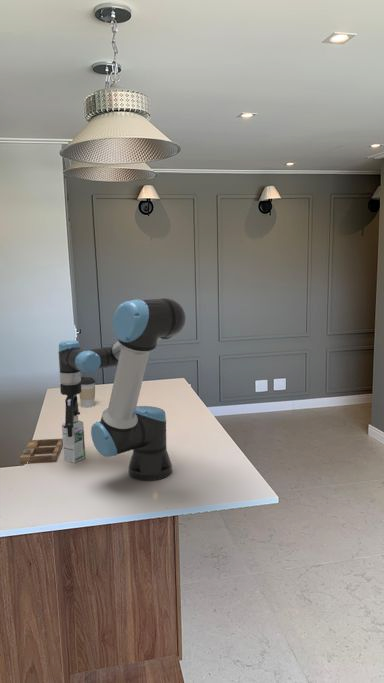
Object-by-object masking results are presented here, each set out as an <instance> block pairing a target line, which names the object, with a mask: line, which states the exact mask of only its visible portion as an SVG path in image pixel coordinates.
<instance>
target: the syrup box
mask: <svg viewBox="0 0 384 683" xmlns="http://www.w3.org/2000/svg"><path fill="white" fill-rule="evenodd" d="M73 425H74V439H75V445H67V438H66V428H64V426H65V422H64V423H61V431H62V434H61V435H62V439H63V447H62V449H63V460H64V461H66V462H69V463H73V464H76V463H77V462H79V461H82V460H85V459H86V447H85V430H84V421H81V420H79V419H78V420H74V422H73Z"/></svg>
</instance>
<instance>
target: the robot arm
mask: <svg viewBox="0 0 384 683" xmlns="http://www.w3.org/2000/svg"><path fill="white" fill-rule="evenodd" d="M186 320H187V318H186V313H185V311H184V308H183V307H182V305H181V304H180V303H179V302H178V301H177V300H174V299H171V298H151V299H140V298H139V299H133V300H127V301H124V302H122V303H121V304H119V305H118V307H117V308H116V310H115V312H114V315H113V319H112V326H113V333H114V335H115V337H116V338H117V341H116V342H115V343H114V344H112V345H109V346H104V347H97V348H87V349H82V348H81V345H80V342H79V341H78V340H62V341H60V342H59V343H58V352H57V354H58V362H59V365H58V366H59V382H60V385H59V386H60V387H59V388H60V394H61V395H62V396H63V395H64V396H66V398H65V415H64V416H65V417H64V418H65V422H64V423H65V426H64V428H66V438H67V445H75V439H74V425H73V422H74V420H78V421H79V416H80V415H81V412H80V410H79V403H78V395H79V393H81V383H80V381H81V378H82V377H83V373H84V374H85V373H88V374H92V373H93V374H94V373H95V372H97V371H98V370H102V369H106V368H112V367H116V370H115V375H114V380H113V385H112V389H111V394H110V399H109V403H108V407H107V408H105V409H104V410H103V411H102V414H101V418H100V421H96V422H94V423H93V424H92V425H91V427H90V428H91V429H90V434H91V439H92V443H93V445H94V448H95V450H96V451H97V452H98V454H100V455H101V456H102V457H105V458H110V457H114V456H117V455H120V454H124V453H127V452H131V451H132V453H131V454H132V455H131V458H130V462H129V465H128V475H129V476H130V477H131V478H133V479H135V480H139V481H140V480H141V481H157V480H161V479H164V478H167V477H168V476H170V475H171V474H172V472H173V465H172V464H173V463H172V462H171V458H170V455H169V453H168V450H167V416H166V412H165V410H164V409H162V408H160V407H156V406H150V405H138V401H139V397H140V393H141V390H142V389H141V388H142V385H143V381H144V376H145V373H146V368H147V364H148V360H149V356H150V352H154V350H155V349H157V345H158V342H160V341H161V340H164V341H165V340H169V339H170V338H173V337H174V336H176V335H178V334H179V333H181V331H182V330H183V328H184V327H185V325H186ZM81 372H82V373H81ZM137 405H138V406H137Z"/></svg>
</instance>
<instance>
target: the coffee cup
mask: <svg viewBox="0 0 384 683" xmlns="http://www.w3.org/2000/svg"><path fill="white" fill-rule="evenodd" d="M80 383H81V393H79V394H78V395H79V399H80V407H81V408H84V407H85V408H92V406H93V407H94V406H95V398H96V380H95V379H94V378H93V377H84V376H81V381H80Z"/></svg>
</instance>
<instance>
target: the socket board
mask: <svg viewBox="0 0 384 683" xmlns="http://www.w3.org/2000/svg"><path fill="white" fill-rule="evenodd" d="M62 449H63V438H49V439H47V438H46V439H30V440H29V442H28V443H27V445H26V447H25V448H24V449H23V452H22V453H21V454H20V456H19V464H20V465H24V464H25V465H26V464H27V462H28V464H42V463H57V461H58V458H59V457H60V454H61V451H62Z"/></svg>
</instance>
